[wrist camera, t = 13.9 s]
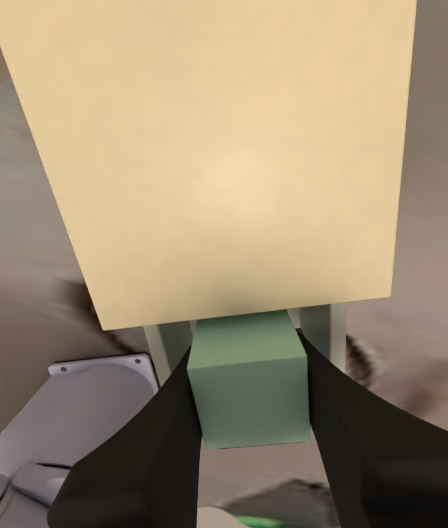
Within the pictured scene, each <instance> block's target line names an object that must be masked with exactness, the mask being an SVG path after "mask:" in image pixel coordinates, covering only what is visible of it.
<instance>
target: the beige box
mask: <svg viewBox="0 0 448 528" xmlns="http://www.w3.org/2000/svg"><path fill="white" fill-rule="evenodd" d="M416 4H417V0H0V47H1V49H2V52H3V55H4V57H5V60H6V63H7V66H8V68H9V72H10V74H11V77H12V80H13V83H14V85H15V88H16V91H17V94H18V96H19V99H20V102H21V105H22V108H23V110H24V113H25V116H26V119H27V121H28V124H29V127H30V130H31V132H32V135H33V138H34V141H35V144H36V146H37V149H38V152H39V155H40V157H41V160H42V163H43V166H44V168H45V171H46V174H47V177H48V179H49V182H50V185H51V188H52V191H53V193H54V196H55V199H56V202H57V204H58V207H59V210H60V213H61V215H62V218H63V221H64V224H65V227H66V229H67V232H68V235H69V238H70V240H71V243H72V246H73V249H74V251H75V254H76V257H77V260H78V262H79V265H80V268H81V271H82V274H83V276H84V279H85V282H86V285H87V287H88V290H89V293H90V296H91V298H92V301H93V304H94V307H95V310H96V312H97V315H98V318H99V321H100V323H101V326H102V329H103V330H104V331H105V330H113V329H122V328H130V327H139V326H147V325H156V324H164V323H173V322H181V321H190V320H198V319H207V318H215V317H224V316H232V315H241V314H249V313H258V312H266V311H275V310H283V309H292V308H300V307H309V306H317V305H326V304H334V303H343V302H351V301H360V300H368V299H377V298H385V297H390V296H391V285H392V274H393V263H394V251H395V240H396V229H397V218H398V206H399V195H400V184H401V173H402V162H403V150H404V139H405V128H406V117H407V105H408V94H409V83H410V72H411V60H412V49H413V38H414V27H415V16H416Z"/></svg>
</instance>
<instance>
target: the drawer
mask: <svg viewBox="0 0 448 528" xmlns="http://www.w3.org/2000/svg"><path fill="white" fill-rule="evenodd" d="M287 311H288V313H289V316H290V318H291V320H292V323H293V325H294V327H295V328H301V330H302V332H303V333H301V334H303V335H304V336H305V337H306V339H307V340H308V341H309V342H310V343H311V344H312V345H313V346H314V347H315V348H316V349H317V350H318V351H319V352H320V353H321V354H323V355H324V356H325V357H326V358H327V359H328V360H329V361H330V362H331V363H333V364H334V365H335V366H336V367H337V368H339V369H340V370H341V371H342V372H343V373H345V345H346V302H343V303H334V304H326V305H317V306H309V307H300V308H292V309H287ZM196 323H197V320H190V321H181V322H173V323H164V324H156V325H147V326H143V328H144V331H145V335H146V338H147V341H148V345H149V348H150V352H151V355H152V358H153V362H154V365H155V368H156V372H157V375H158V379H159V382H160V385H161V386H162V385H163V384H164V383H165V381H166V380H167V379H168V377H169V376H170V375H171V373H172V372H173V370H174V369H175V368H176V366H177V365H178V363H179V362H180V360H181V359H182V357H183V355H184V354H185V352H186V351H187V349H188V348H189V346H190V345H192V342H193V337H194V333H195V328H196ZM310 429H312V427H311V425H310ZM203 438H204V437H203V433H202V439H203ZM305 442H306V441H305ZM293 443H299V442H293ZM281 444H287V443H281ZM269 445H275V444H269ZM257 446H263V445H257ZM245 447H251V446H245ZM233 448H239V447H233ZM221 449H227V448H221Z"/></svg>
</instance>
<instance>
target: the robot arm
mask: <svg viewBox="0 0 448 528" xmlns="http://www.w3.org/2000/svg"><path fill="white" fill-rule="evenodd" d="M298 336H299V339H300V341H301V343H302V346H303V348H304V350H305V353H306V355H307V369H308V394H309V419H310V425H311V427H312V430H313V432H314V435H315V438H316V441H317V444H318V447H319V451H320V454H321V457H322V461H323V464H324V468H325V471H326V475H327V478H328V482H329V485H330V489H331V492H332V496H333V500H334V503H335V507H336V511H337V514H338V518H339V522H340V525H341V528H448V431H446V430H444V429H442V428H439V427H437V426H435V425H433V424H431V423H428V422H426V421H424V420H422V419H419V418H417V417H415V416H413V415H411V414H409V413H407V412H405V411H403V410H402V409H400V408H398V407H396V406H394V405H392V404H390V403H389V402H387V401H385V400H383V399H382V398H380V397H378V396H377V395H375V394H373V393H372V392H370V391H369V390H367V389H366V388H364V387H363V386H361V385H360V384H358V383H357V382H355V381H354V380H353V379H351V378H350V377H349V376H347V375H346V374H345V373H343V372H342V371H341V370H340V369H339V368H337V367H336V366H335V365H334V364H333V363H331V362H330V361H329V360H328V359H327V358H326V357H325V356H324V355H323V354H321V353H320V352H319V351H318V350H317V349H316V348H315V347H314V346H313V345H312V344H311V343H310V342H309V341H308V340H307V339H306V337H305V336H304V335H303V334H301V333H298ZM191 347H192V345H190V346H189V348H188V349H187V351H186V352H185V354H184V355H183V357H182V359H181V360H180V362H179V363H178V365H177V366H176V368H175V369H174V370H173V372H172V373H171V375H170V376H169V377H168V379H167V380H166V381H165V383H164V384H163V385H162V386H161V388H160V389H159V387H158V384H157V380H156V377H155V374H154V370H153V367H152V364H151V360H150V357H149V356H148V355H147V354H136V355H127V356H118V357H109V358H100V359H90V360H81V361H72V362H63V363H54V364H52V365H51V366H50V367H49V368H48V370H49V373H50V375H51V377H50V378H49V379H48V380H47V381H46V382H45V383H44V385H43V386H42V387H41V388H40V389H39V390H38V391H37V393H36V394H35V395H34V396H33V397H32V398H31V399H30V401H29V402H28V403H27V404H26V405H25V406H24V407H23V408H22V410H21V411H20V412H19V413H18V414H17V415H16V416H15V418H14V419H13V420H12V421H11V422H10V423H9V424H8V426H7V427H6V428H5V429H4V430H3V431H2V432H1V434H0V528H196V524H197V499H198V478H199V461H200V448H201V440H202V429H201V425H200V421H199V417H198V412H197V408H196V404H195V400H194V396H193V392H192V388H191V384H190V380H189V375H188V371H187V366H188V361H189V356H190V351H191ZM137 359H139V360H140V361H138V360H137ZM64 367H65V368H64Z"/></svg>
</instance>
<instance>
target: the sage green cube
mask: <svg viewBox="0 0 448 528" xmlns="http://www.w3.org/2000/svg"><path fill="white" fill-rule="evenodd" d="M187 371H188V375H189V380H190V384H191V388H192V392H193V396H194V400H195V404H196V408H197V412H198V417H199V421H200V425H201V429H202V433H203V437H204V441H205V445H206V449H207V450H209V449H221V448H233V447H245V446H257V445H269V444H281V443H293V442H305V441H310V419H309V394H308V369H307V355H306V353H305V350H304V348H303V346H302V343H301V341H300V339H299V336H298V334H297V332H296V330H295V327H294V325H293V323H292V320H291V318H290V316H289V313H288V311H287V309H283V310H275V311H266V312H258V313H249V314H241V315H232V316H224V317H215V318H207V319H198V320H197V323H196V328H195V333H194V337H193V342H192V347H191V351H190V356H189V361H188V366H187Z"/></svg>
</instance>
